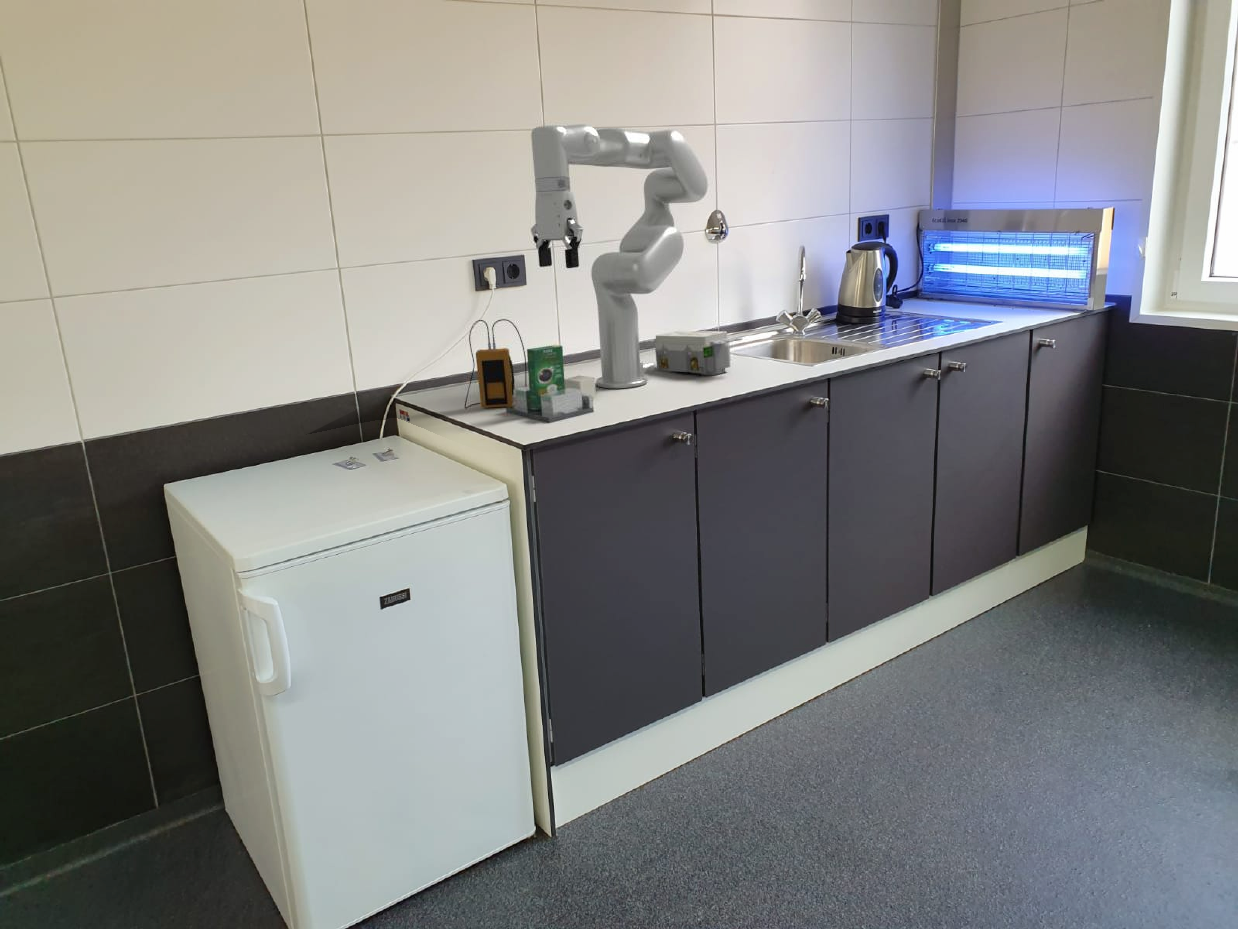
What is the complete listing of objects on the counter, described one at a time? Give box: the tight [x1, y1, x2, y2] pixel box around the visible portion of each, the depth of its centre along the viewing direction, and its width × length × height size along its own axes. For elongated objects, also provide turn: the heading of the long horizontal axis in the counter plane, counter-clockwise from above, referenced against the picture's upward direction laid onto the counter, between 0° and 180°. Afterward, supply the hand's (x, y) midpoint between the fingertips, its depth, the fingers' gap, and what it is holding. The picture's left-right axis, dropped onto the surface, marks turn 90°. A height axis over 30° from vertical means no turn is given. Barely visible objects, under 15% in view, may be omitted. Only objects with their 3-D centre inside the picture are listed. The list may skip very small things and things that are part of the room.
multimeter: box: [464, 318, 527, 410], centre depth 211 cm, size 15×10×20 cm
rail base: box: [505, 385, 595, 424], centre depth 202 cm, size 12×16×5 cm
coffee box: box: [526, 344, 565, 410], centre depth 200 cm, size 8×3×13 cm, turn 130°
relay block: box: [564, 375, 597, 400], centre depth 212 cm, size 5×5×5 cm
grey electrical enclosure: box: [643, 330, 743, 376], centre depth 236 cm, size 12×28×10 cm, turn 40°
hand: (559, 266), depth 204 cm, fingers open, 9 cm apart
